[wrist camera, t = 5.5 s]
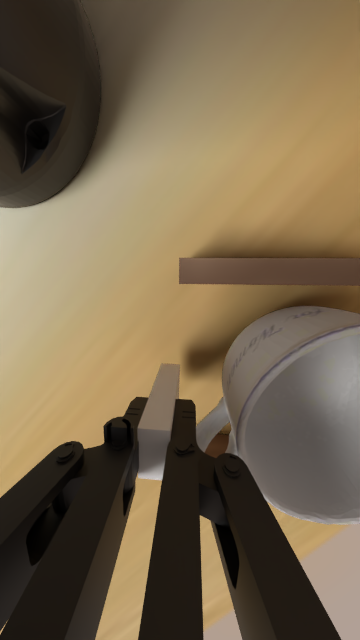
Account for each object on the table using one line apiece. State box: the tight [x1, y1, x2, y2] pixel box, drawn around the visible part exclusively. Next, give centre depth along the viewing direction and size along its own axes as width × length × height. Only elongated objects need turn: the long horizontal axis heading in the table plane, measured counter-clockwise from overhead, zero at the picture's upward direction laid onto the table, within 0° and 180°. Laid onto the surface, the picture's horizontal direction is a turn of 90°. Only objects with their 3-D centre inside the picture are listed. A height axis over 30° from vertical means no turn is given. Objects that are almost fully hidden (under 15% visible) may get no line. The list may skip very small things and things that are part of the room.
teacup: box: [196, 306, 360, 525], centre depth 12 cm, size 14×11×8 cm
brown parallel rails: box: [179, 258, 360, 458], centre depth 14 cm, size 17×13×5 cm
